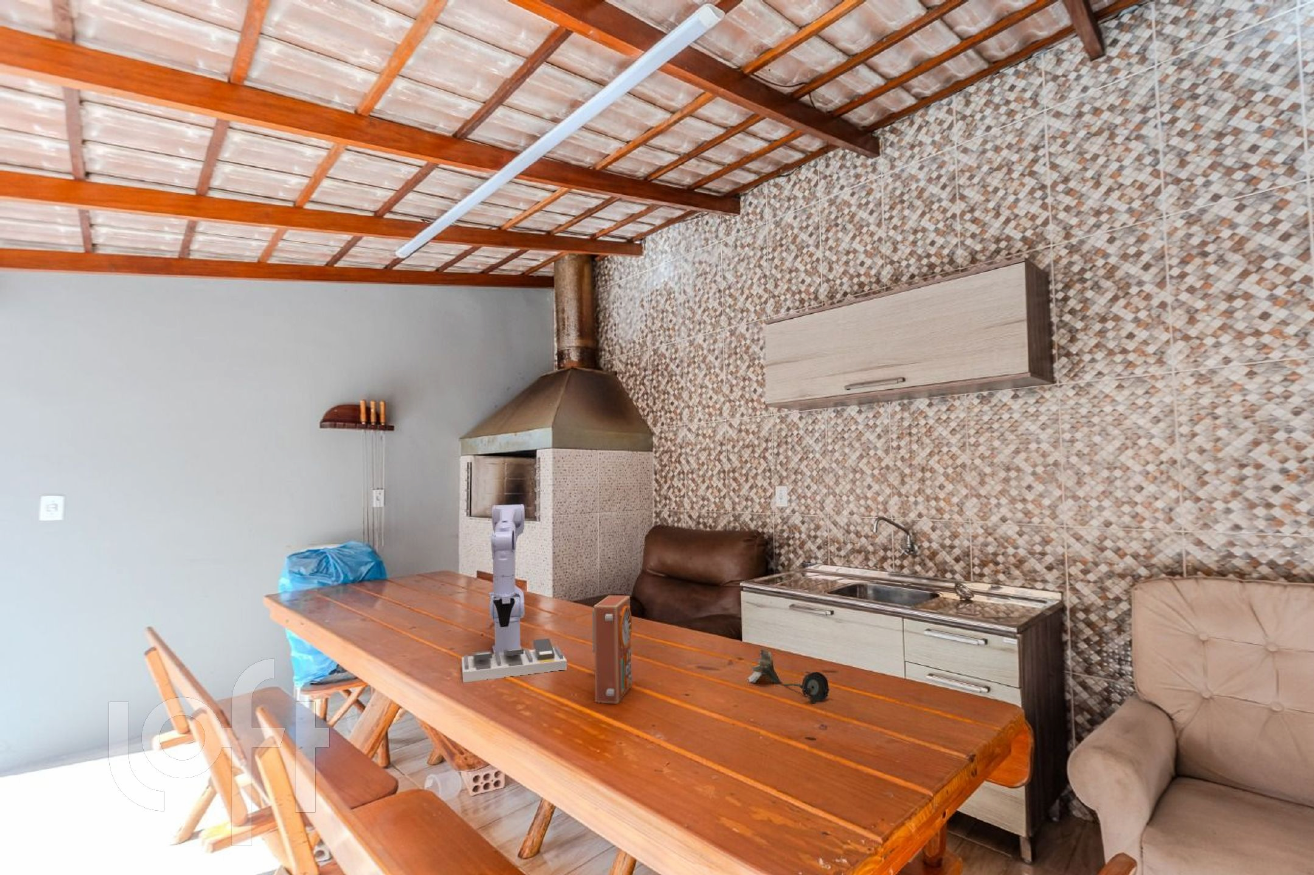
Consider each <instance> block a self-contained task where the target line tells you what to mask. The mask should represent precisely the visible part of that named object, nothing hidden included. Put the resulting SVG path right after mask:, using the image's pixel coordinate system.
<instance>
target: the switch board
mask: <svg viewBox="0 0 1314 875" xmlns="http://www.w3.org/2000/svg"><path fill="white" fill-rule="evenodd" d="M552 648H553V651H554V654H555V656H554V658H550V659H541V660H538V659H537V656H536V652H535V649H529V648H524V654H519V655H510V656H506V655H504V653H498V652H495V654H494V653H492V658H490V659H481V660H474V658H473V655H470V656H468V654H464V655H463V656H462V657H461V671H462V682H463V683H471V682H478V681H487V679H488V680H495V679H503V678H504V677H506V678H511V677H510V676H514V677H520V675H523V676H529V675H528V674H531V675H535V674H534V673H540V674H545V673H544V672H548V673H551V672H550V671H557V672H559V671H558V670H565V671H567V670H568V668H567V667H568V660H567V658H566V657H565V656H564V654H563V653H562V651H561V649H560V647H559V646H558V645H554V647H552Z"/></svg>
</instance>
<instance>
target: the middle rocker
mask: <svg viewBox="0 0 1314 875" xmlns="http://www.w3.org/2000/svg"><path fill="white" fill-rule="evenodd" d="M521 648H522V647H521ZM521 648H519V649H509V650H504V655H506V656H510V655H519V654H524V651H525V648H522V649H521Z"/></svg>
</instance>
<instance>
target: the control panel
mask: <svg viewBox="0 0 1314 875" xmlns="http://www.w3.org/2000/svg"><path fill="white" fill-rule="evenodd" d="M630 597H631V596H630V595H610V594H609V595H608V596H606V597H605V598H603V599H602V600H601V601H599V602H598V603H596V604H594V606H593V610H591V613H592V615H591V616H592V617H591V618H592V652H593V653H594V699H595V700H594V702H595V703H596V702H598V703H599V704H600V702H601V704H616V705H617V704H618V705H619V703H620V702H621V700H622V699H623V697H624V696H625V695H626V694H627V692H628V691H629V689H630V688H631V687H632V682H633V681H632V646H631V645H632V644H631V641H632V640H631V639H632V631H633V630H632V628H633V627H632V626H633V622H632V621H633V620H632V611H631V600H630V599H631V598H630ZM598 703H597V704H598Z"/></svg>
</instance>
